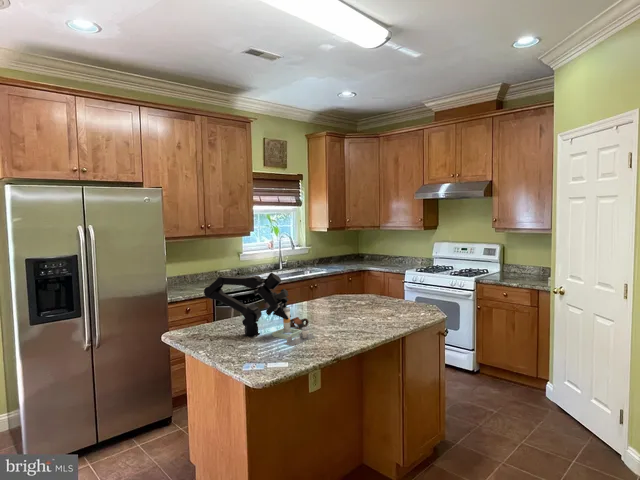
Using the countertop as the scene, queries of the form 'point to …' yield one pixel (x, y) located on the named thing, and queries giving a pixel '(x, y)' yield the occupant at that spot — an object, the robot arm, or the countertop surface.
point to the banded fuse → (286, 322)
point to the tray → (278, 334)
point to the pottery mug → (298, 322)
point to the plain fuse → (305, 332)
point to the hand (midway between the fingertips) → (289, 318)
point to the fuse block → (298, 339)
